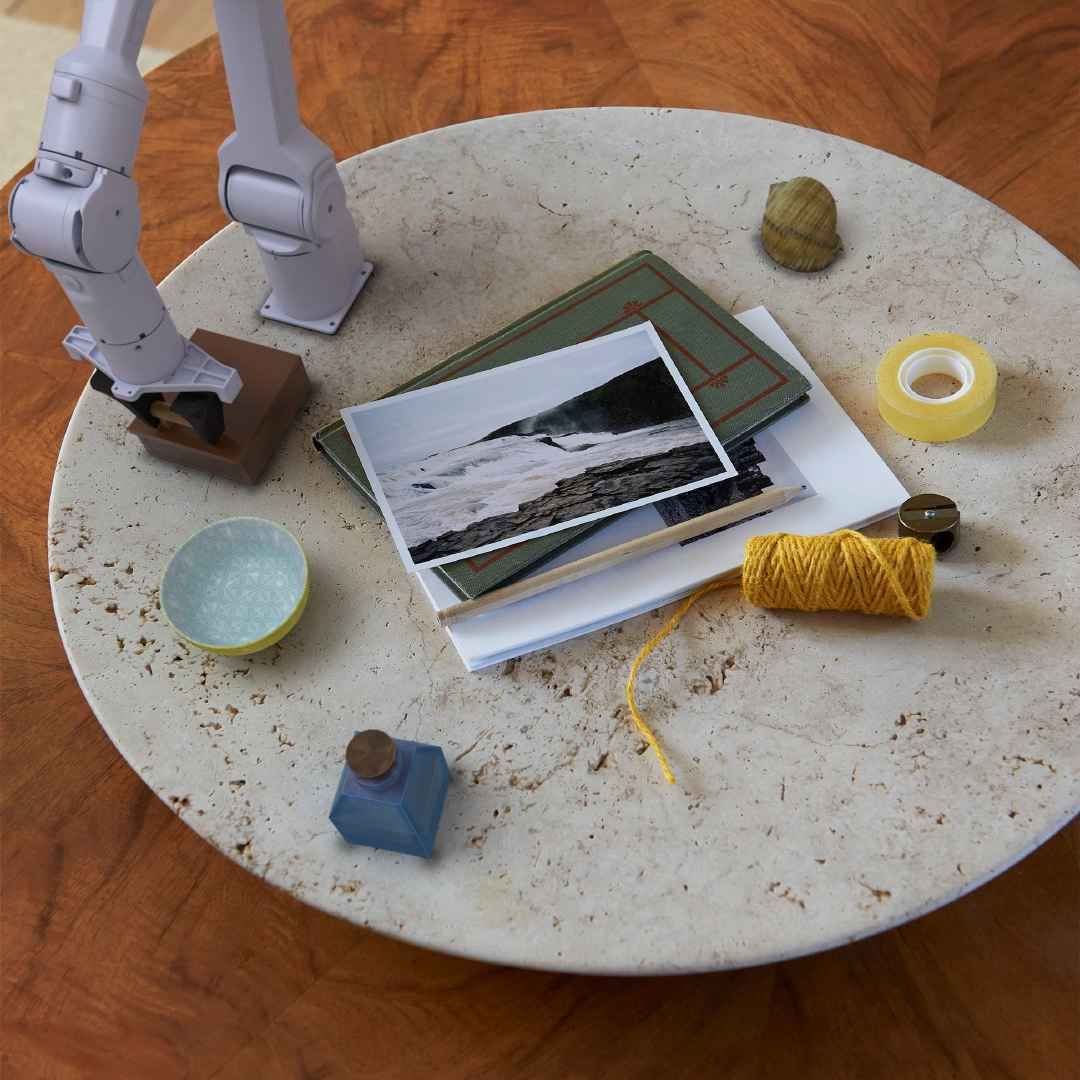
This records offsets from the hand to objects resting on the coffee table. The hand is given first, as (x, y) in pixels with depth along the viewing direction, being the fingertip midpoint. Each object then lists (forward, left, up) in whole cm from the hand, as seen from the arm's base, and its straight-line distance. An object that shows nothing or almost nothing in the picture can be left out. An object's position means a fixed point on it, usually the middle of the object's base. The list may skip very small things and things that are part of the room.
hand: (187, 427), depth 88 cm
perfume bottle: (+23, +29, -5) cm, 37 cm away
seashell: (-43, +44, -5) cm, 61 cm away
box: (-5, 0, -5) cm, 7 cm away
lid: (-5, 0, -1) cm, 5 cm away
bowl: (+12, +12, -5) cm, 18 cm away
